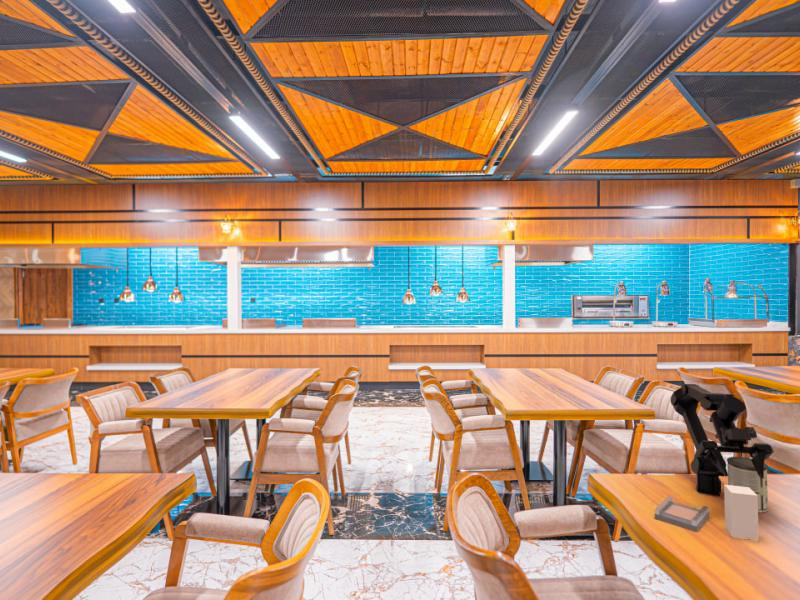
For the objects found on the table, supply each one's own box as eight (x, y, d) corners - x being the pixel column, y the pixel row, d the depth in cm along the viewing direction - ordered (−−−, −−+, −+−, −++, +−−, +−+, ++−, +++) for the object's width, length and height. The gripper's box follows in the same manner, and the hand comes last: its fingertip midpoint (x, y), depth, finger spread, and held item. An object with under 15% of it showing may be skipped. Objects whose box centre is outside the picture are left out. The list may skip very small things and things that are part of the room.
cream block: (725, 527, 128) (724, 484, 128) (750, 531, 126) (749, 487, 126) (732, 537, 123) (731, 492, 123) (758, 541, 120) (757, 495, 121)
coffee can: (724, 496, 149) (723, 454, 149) (762, 502, 145) (761, 458, 145) (732, 509, 140) (731, 464, 140) (773, 515, 135) (772, 469, 136)
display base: (697, 531, 126) (696, 521, 126) (654, 518, 134) (654, 508, 134) (709, 517, 135) (708, 507, 135) (668, 505, 143) (668, 496, 143)
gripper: (700, 414, 137) (718, 463, 127) (770, 417, 133) (793, 468, 123) (690, 431, 145) (705, 479, 135) (755, 434, 141) (776, 483, 131)
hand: (744, 477), depth 130 cm, fingers open, 9 cm apart
